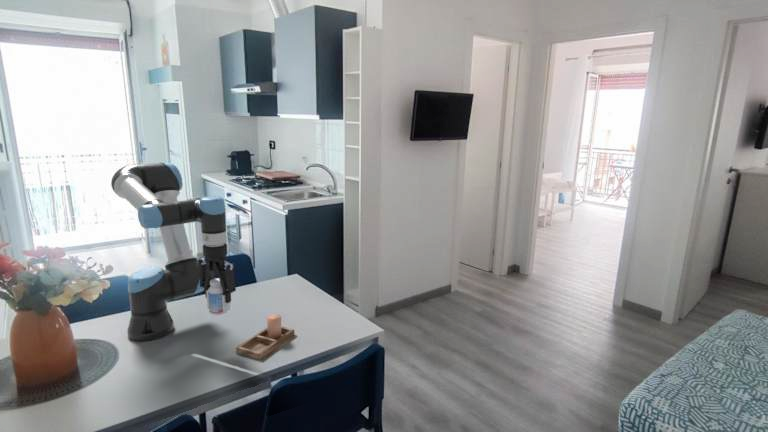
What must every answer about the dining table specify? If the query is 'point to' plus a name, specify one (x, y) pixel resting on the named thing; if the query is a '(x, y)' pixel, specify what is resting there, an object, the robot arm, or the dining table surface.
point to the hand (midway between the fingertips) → (218, 308)
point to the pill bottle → (215, 297)
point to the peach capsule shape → (274, 326)
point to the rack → (264, 344)
